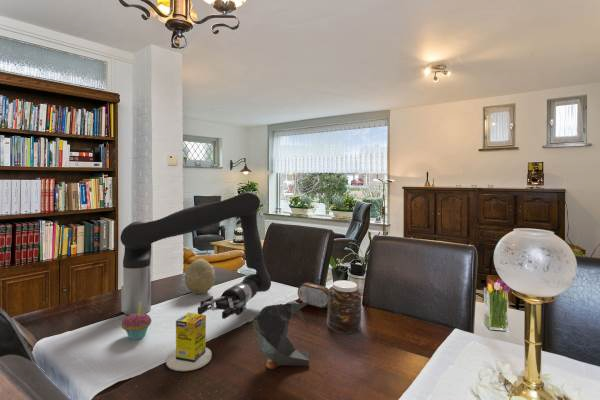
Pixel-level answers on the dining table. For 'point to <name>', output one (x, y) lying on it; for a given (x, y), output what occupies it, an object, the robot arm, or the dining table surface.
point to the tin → (313, 295)
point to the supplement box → (190, 337)
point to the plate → (186, 365)
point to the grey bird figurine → (279, 335)
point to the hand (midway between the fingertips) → (210, 313)
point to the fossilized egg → (199, 276)
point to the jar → (344, 307)
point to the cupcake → (136, 324)
